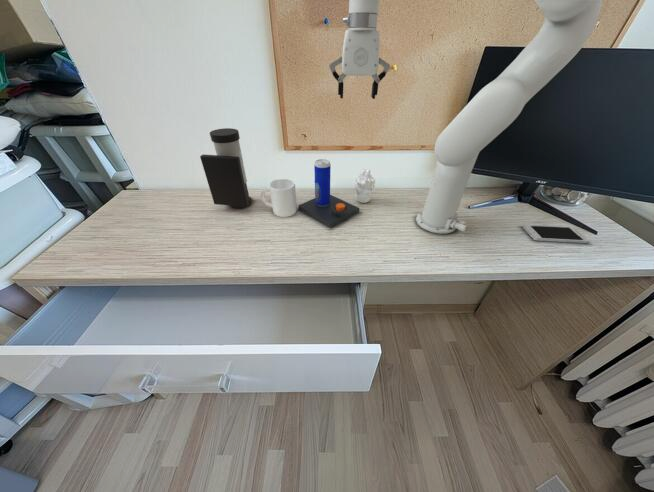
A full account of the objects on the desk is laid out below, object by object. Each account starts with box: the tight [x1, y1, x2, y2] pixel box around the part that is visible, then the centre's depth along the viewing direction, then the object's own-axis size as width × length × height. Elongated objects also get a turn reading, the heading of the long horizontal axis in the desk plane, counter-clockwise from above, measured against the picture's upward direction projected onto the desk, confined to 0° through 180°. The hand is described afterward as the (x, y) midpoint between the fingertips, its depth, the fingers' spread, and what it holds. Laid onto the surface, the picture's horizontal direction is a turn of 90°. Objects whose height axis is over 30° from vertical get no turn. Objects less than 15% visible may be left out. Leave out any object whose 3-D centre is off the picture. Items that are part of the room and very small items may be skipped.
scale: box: [297, 194, 360, 229], centre depth 89 cm, size 16×14×4 cm
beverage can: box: [313, 158, 332, 207], centre depth 86 cm, size 5×5×15 cm
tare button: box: [336, 203, 345, 211], centre depth 85 cm, size 3×3×2 cm
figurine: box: [354, 168, 376, 204], centre depth 92 cm, size 7×7×12 cm
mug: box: [260, 178, 298, 218], centre depth 87 cm, size 12×8×10 cm
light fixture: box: [199, 127, 253, 210], centre depth 85 cm, size 12×11×25 cm
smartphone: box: [522, 224, 590, 244], centre depth 79 cm, size 7×15×1 cm, turn 86°
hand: (357, 97), depth 78 cm, fingers open, 9 cm apart
